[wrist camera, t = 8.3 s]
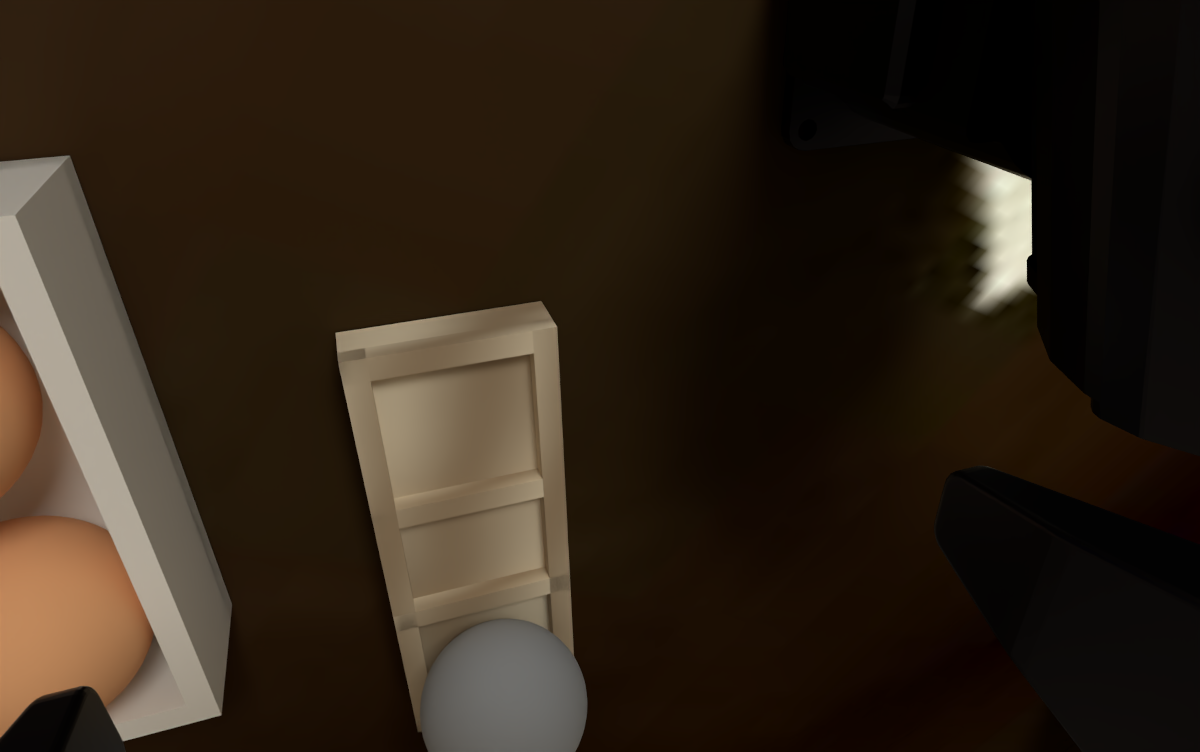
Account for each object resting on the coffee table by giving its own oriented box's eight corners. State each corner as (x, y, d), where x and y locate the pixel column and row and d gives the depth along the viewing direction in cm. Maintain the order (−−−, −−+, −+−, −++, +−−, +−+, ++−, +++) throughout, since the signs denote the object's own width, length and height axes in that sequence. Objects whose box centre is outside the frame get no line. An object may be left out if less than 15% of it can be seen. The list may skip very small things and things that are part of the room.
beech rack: (541, 301, 20) (556, 326, 19) (562, 651, 27) (575, 686, 25) (335, 332, 19) (338, 362, 17) (412, 692, 25) (417, 732, 24)
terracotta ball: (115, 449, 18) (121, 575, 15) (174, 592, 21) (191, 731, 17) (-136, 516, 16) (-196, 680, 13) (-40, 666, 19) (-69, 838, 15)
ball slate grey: (558, 568, 23) (608, 695, 20) (564, 672, 26) (610, 803, 22) (399, 607, 22) (420, 750, 18) (421, 712, 25) (444, 858, 21)
